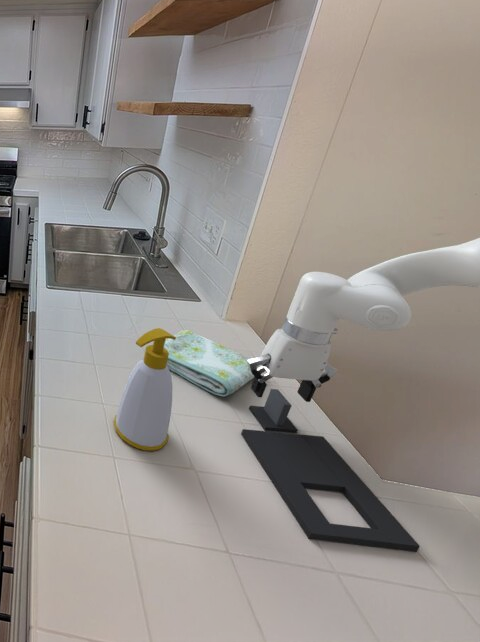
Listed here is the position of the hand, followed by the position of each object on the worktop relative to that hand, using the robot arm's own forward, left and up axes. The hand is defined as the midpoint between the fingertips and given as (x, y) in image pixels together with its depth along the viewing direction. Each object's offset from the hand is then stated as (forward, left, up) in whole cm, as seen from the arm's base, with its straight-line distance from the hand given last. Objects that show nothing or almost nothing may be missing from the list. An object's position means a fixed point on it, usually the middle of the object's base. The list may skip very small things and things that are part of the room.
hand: (279, 395), depth 85 cm
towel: (+8, -18, -8) cm, 21 cm away
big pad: (+1, +16, -7) cm, 18 cm away
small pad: (0, 0, -7) cm, 7 cm away
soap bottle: (+31, +7, -8) cm, 32 cm away
